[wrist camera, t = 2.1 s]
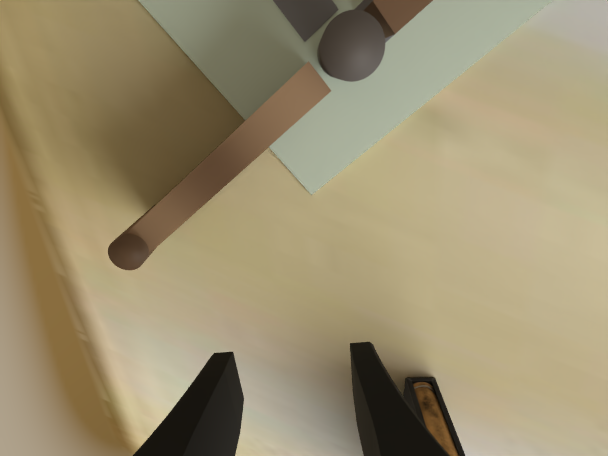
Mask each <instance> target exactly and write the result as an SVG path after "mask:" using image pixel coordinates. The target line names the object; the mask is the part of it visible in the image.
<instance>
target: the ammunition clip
mask: <svg viewBox="0 0 608 456" xmlns="http://www.w3.org/2000/svg"><path fill="white" fill-rule="evenodd" d="M404 398H405V400H406V401H407V402H408V404H409V405H410V407H411V408H412V409H413V411H414V412H415V413H416V415H417V416H418V417H419V419H420V420H421V421H422V423H423V424H424V425H425V426H426V428H427V429H428V430H429V431H430V433H431V434H432V435H433V436H434V438H435V439H436V440H437V441H438V442H439V443H440V445H441V446H442V447H443V448H444V449H445V450H446V452H447V453H448V454H449V455H450V456H465V454H464V451H463V449H462V446H461V443H460V441H459V438H458V436H457V433H456V431H455V428H454V426H453V423H452V420H451V418H450V415H449V413H448V410H447V408H446V405H445V403H444V400H443V397H442V395H441V392H440V390H439V387H438V385H437V382H436V379H435V378H406V380H405V388H404Z"/></svg>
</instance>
